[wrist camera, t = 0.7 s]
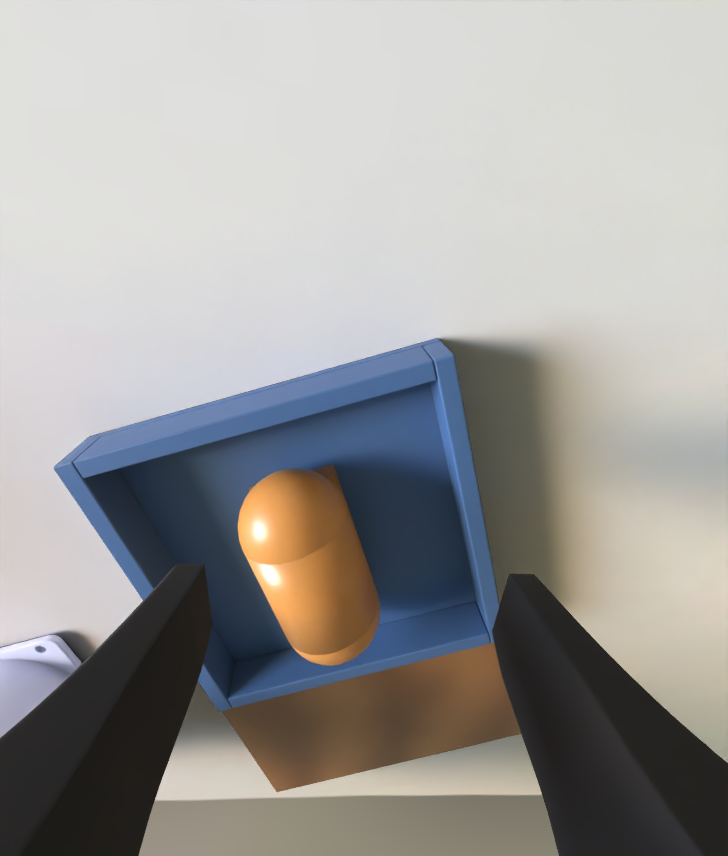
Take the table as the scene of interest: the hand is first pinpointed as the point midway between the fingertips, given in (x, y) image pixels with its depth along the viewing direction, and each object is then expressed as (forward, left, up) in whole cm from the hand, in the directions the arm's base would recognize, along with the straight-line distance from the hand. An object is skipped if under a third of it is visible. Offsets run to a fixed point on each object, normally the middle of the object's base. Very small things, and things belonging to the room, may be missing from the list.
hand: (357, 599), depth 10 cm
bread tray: (-3, -5, -10) cm, 11 cm away
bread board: (-3, -19, -10) cm, 22 cm away
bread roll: (-3, -5, -9) cm, 11 cm away
